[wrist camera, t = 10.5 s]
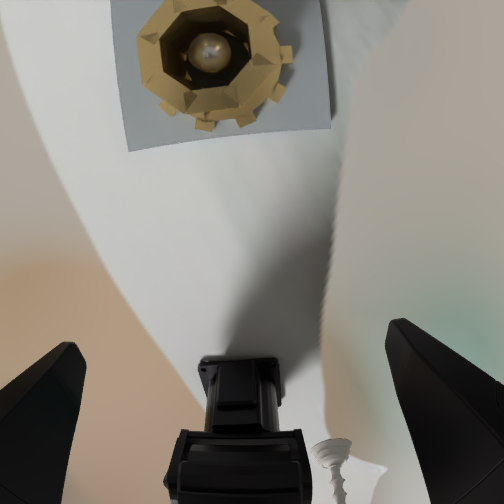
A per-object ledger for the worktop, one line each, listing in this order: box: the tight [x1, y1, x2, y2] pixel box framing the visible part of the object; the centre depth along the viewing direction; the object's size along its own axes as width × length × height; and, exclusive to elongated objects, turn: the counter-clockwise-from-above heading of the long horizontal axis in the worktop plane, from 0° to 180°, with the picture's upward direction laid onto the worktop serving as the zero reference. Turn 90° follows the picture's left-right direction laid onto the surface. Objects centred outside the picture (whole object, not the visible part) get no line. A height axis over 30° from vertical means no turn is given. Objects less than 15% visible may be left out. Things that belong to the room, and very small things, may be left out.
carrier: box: [110, 0, 331, 152], centre depth 11 cm, size 14×11×6 cm
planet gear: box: [136, 0, 293, 132], centre depth 12 cm, size 7×7×6 cm
